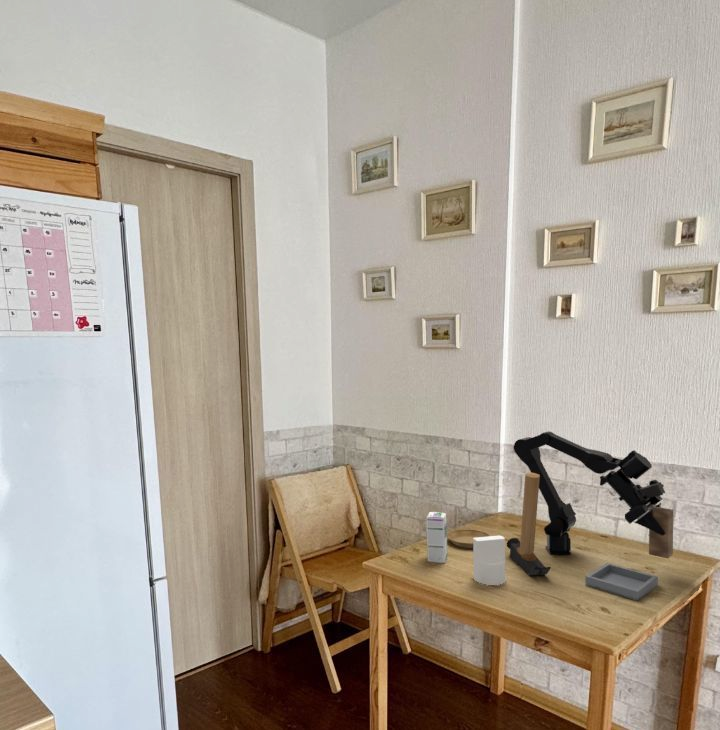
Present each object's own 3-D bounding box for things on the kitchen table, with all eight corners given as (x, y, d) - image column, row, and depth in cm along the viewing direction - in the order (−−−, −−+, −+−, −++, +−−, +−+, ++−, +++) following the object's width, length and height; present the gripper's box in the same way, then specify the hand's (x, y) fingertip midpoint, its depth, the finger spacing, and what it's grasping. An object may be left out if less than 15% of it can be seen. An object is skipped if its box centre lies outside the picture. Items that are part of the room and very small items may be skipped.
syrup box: (445, 563, 170) (444, 517, 170) (426, 561, 172) (426, 516, 171) (447, 556, 176) (447, 512, 175) (429, 555, 177) (428, 511, 177)
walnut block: (648, 554, 158) (649, 509, 158) (654, 550, 161) (654, 506, 161) (668, 558, 154) (668, 512, 154) (672, 554, 158) (673, 509, 158)
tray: (637, 601, 142) (637, 591, 142) (585, 585, 153) (585, 576, 153) (657, 585, 152) (657, 576, 151) (607, 571, 162) (607, 562, 162)
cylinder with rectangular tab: (481, 587, 152) (480, 544, 152) (468, 574, 161) (468, 534, 161) (511, 584, 154) (510, 542, 154) (497, 571, 163) (496, 532, 163)
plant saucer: (450, 551, 181) (450, 543, 181) (444, 536, 196) (444, 529, 196) (495, 550, 181) (495, 542, 181) (485, 536, 196) (485, 528, 196)
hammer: (549, 585, 158) (557, 489, 152) (532, 586, 157) (540, 489, 151) (520, 549, 177) (526, 462, 171) (505, 550, 177) (511, 463, 171)
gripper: (636, 477, 153) (681, 524, 146) (654, 467, 167) (696, 509, 160) (607, 500, 159) (649, 546, 151) (627, 488, 173) (666, 530, 165)
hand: (666, 532), depth 157 cm, fingers closed on walnut block, 5 cm apart
